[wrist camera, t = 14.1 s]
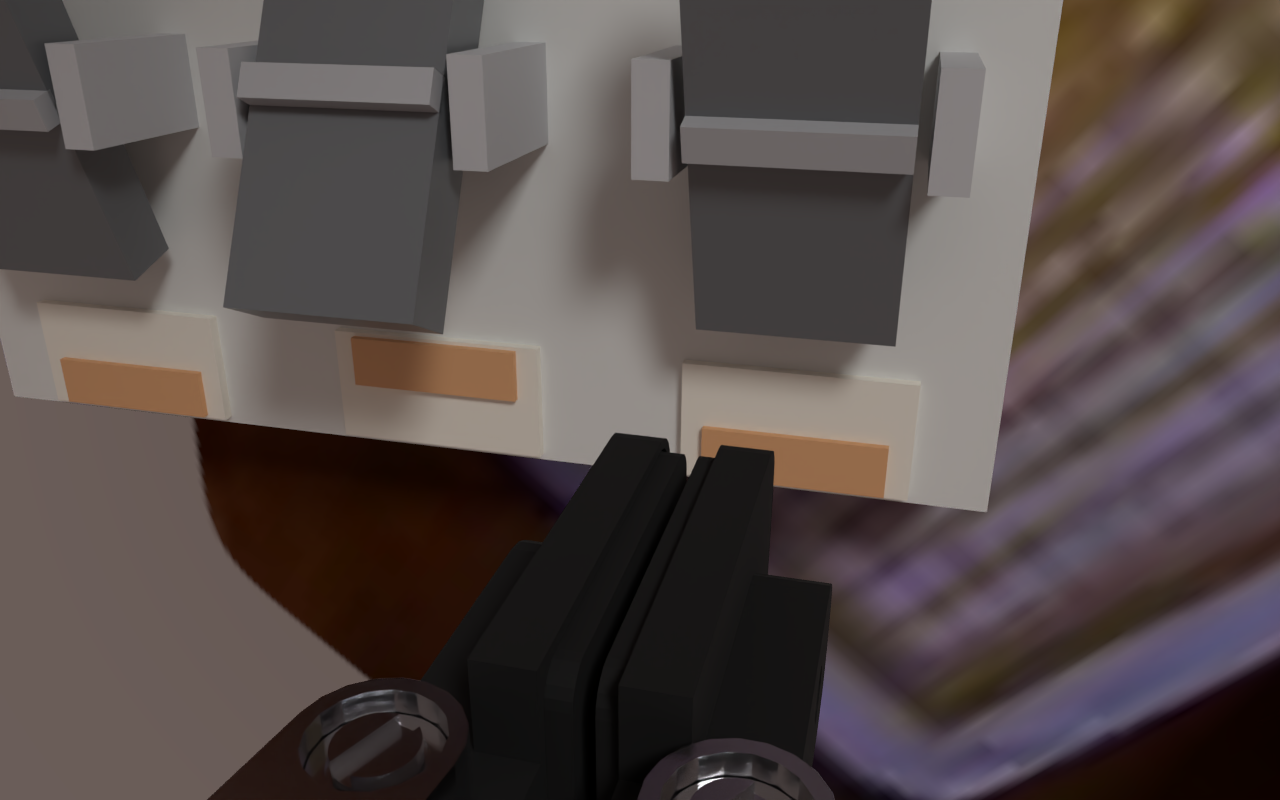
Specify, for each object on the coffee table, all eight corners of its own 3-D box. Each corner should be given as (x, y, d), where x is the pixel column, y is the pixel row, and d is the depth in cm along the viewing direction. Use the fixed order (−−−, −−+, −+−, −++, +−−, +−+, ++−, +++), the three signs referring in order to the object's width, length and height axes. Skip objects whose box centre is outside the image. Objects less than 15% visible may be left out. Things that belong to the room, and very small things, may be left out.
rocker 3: (691, -155, 19) (666, -123, 18) (948, -160, 18) (945, -126, 17) (708, 290, 26) (691, 342, 24) (899, 305, 25) (894, 360, 23)
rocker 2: (317, -91, 25) (268, -141, 23) (495, -93, 24) (460, -145, 22) (263, 317, 25) (208, 303, 23) (443, 334, 24) (402, 321, 22)
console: (-34, -310, 30) (-340, -396, 23) (1098, -385, 23) (1175, -542, 16) (102, 355, 37) (-95, 447, 30) (980, 447, 31) (995, 595, 23)
